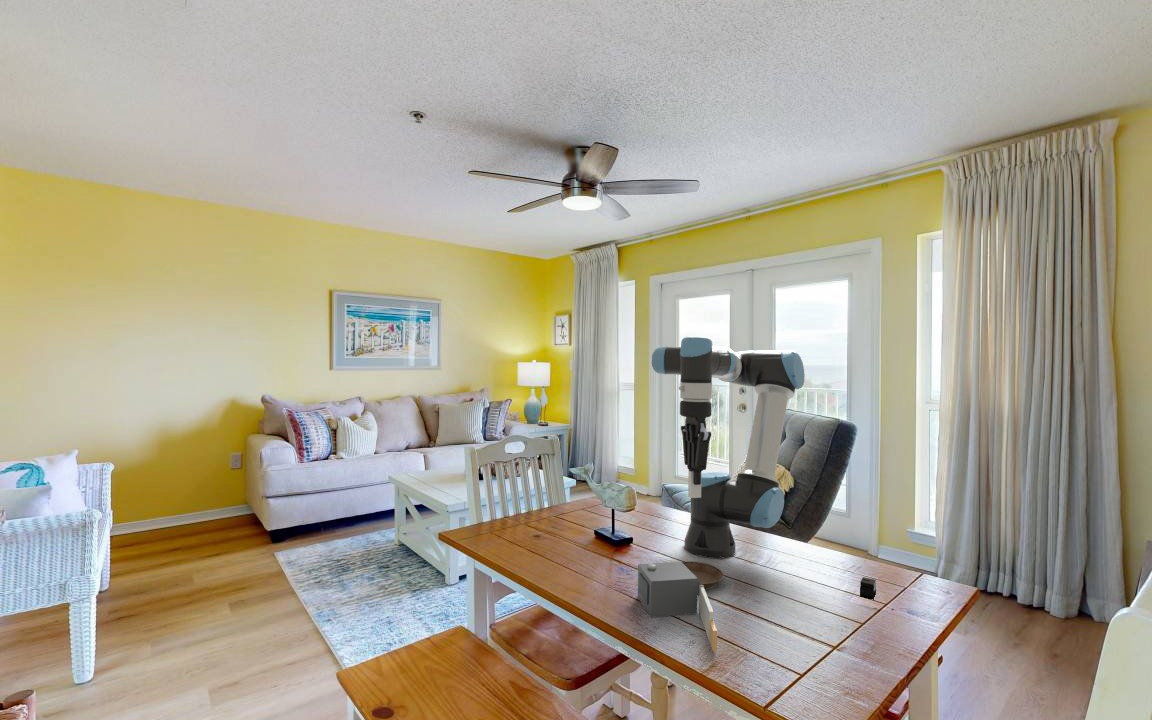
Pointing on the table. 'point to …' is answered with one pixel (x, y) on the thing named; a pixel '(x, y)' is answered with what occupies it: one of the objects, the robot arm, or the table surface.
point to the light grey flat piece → (707, 617)
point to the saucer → (705, 573)
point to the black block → (868, 588)
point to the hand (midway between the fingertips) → (694, 496)
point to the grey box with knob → (667, 589)
